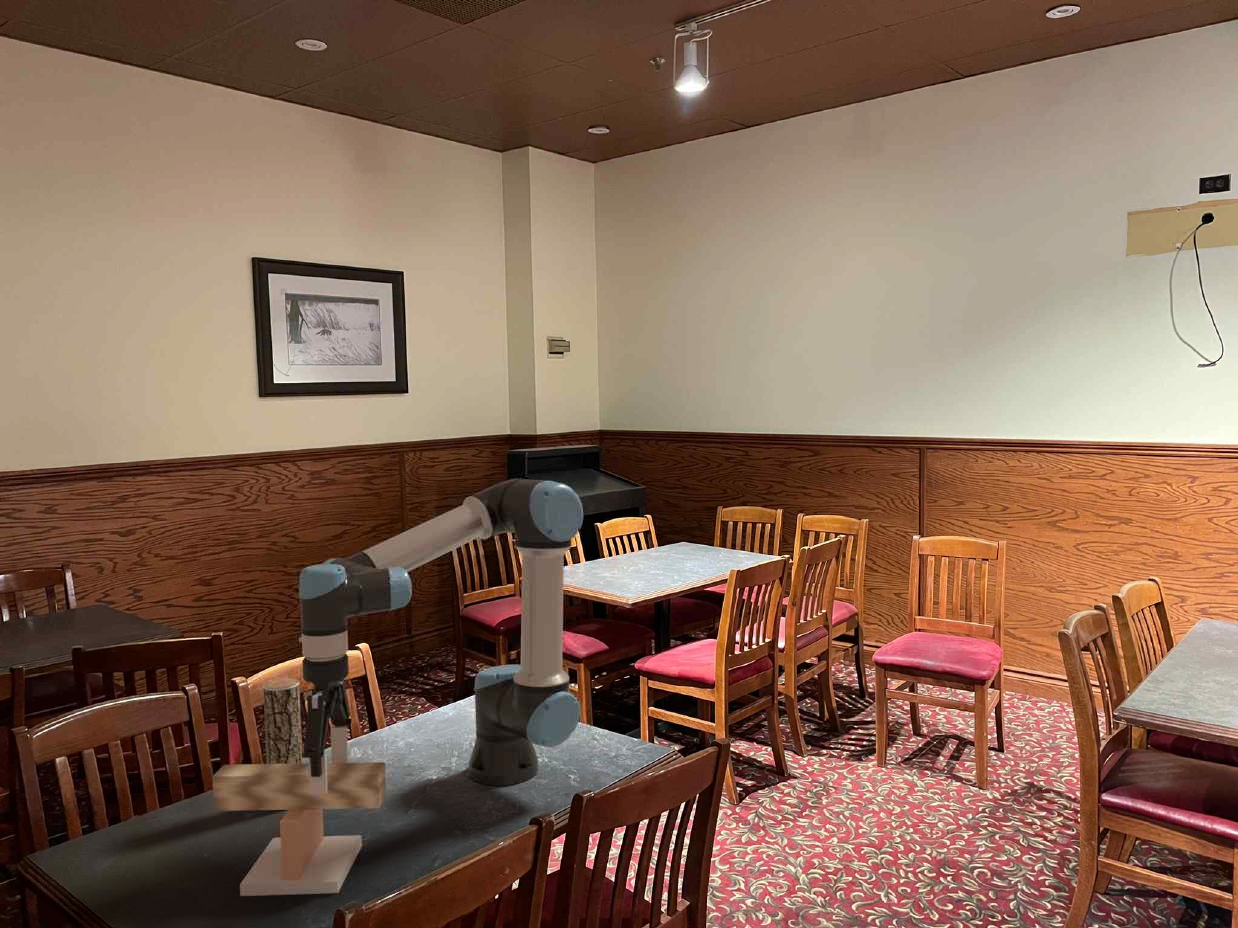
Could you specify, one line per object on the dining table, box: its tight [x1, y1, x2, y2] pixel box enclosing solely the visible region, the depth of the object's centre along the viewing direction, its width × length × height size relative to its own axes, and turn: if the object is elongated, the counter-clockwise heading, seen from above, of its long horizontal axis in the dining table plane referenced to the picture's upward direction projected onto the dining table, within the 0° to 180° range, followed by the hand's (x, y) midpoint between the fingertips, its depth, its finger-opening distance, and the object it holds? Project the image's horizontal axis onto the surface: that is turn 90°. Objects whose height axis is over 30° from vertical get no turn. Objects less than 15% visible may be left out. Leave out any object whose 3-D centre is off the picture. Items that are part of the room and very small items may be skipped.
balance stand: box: [239, 809, 363, 897], centre depth 158 cm, size 16×16×12 cm
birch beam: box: [211, 761, 387, 812], centre depth 158 cm, size 28×5×6 cm, turn 92°
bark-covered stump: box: [262, 677, 303, 764], centre depth 184 cm, size 7×7×25 cm
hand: (329, 777), depth 158 cm, fingers open, 12 cm apart
